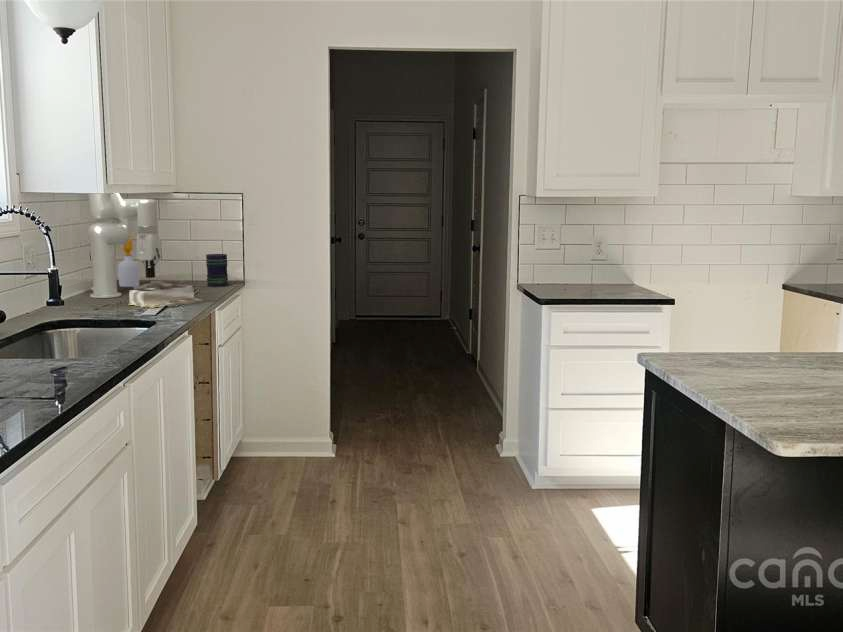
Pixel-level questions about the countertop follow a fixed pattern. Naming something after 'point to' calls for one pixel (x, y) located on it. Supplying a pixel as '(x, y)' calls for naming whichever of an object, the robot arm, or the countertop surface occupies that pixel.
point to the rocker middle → (162, 284)
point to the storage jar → (217, 270)
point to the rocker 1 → (144, 286)
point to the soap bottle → (128, 268)
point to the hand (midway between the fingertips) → (150, 277)
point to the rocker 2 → (179, 282)
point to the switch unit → (163, 296)
